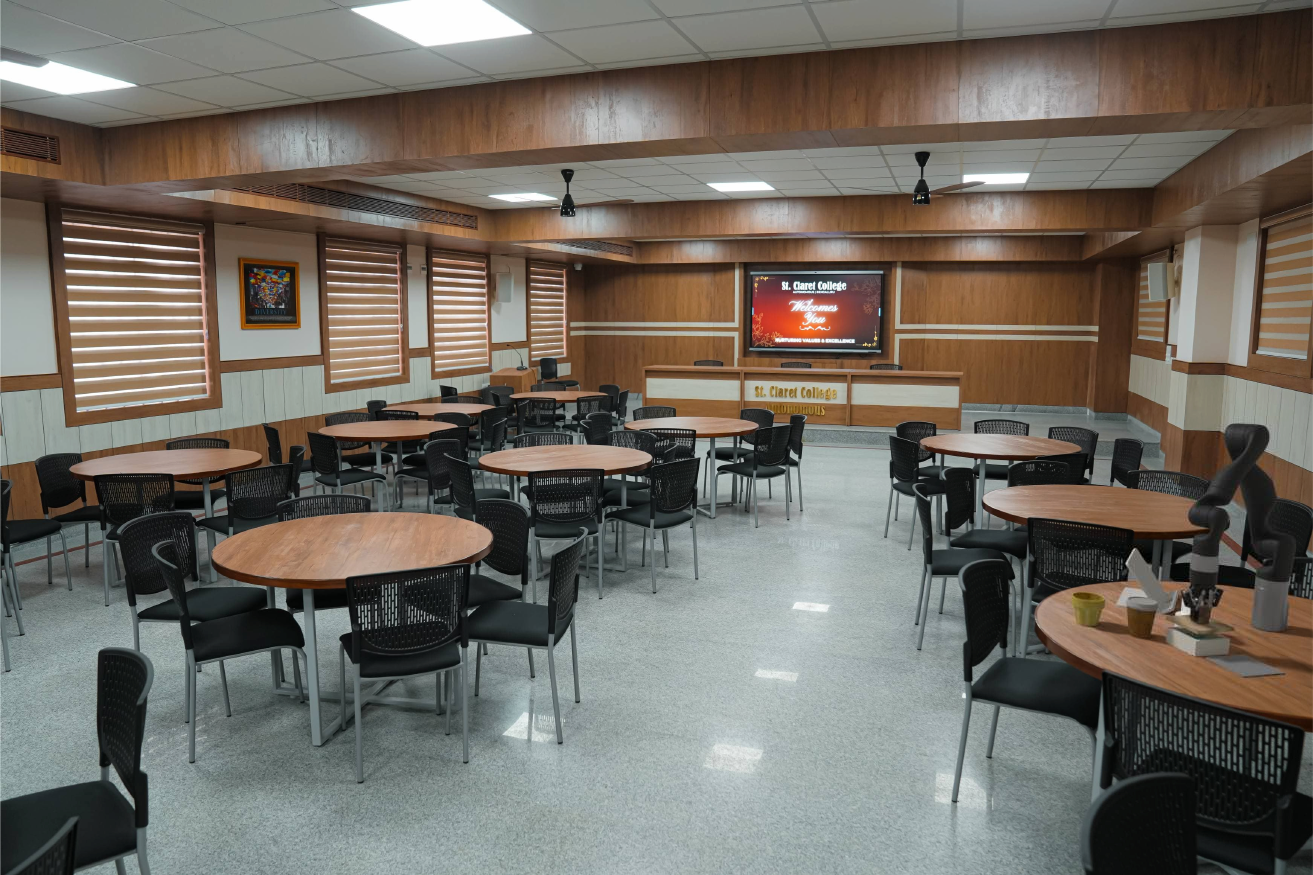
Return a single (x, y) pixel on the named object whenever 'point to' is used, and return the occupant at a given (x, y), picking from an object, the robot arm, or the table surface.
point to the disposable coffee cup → (1140, 616)
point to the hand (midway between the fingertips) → (1199, 619)
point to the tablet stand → (1147, 585)
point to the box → (1197, 642)
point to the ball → (1197, 636)
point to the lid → (1200, 622)
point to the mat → (1244, 665)
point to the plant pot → (1087, 607)
